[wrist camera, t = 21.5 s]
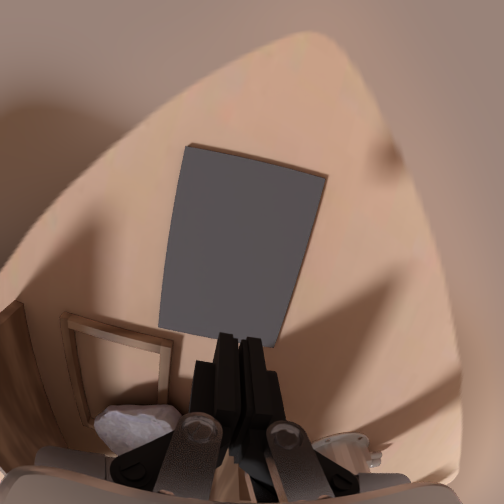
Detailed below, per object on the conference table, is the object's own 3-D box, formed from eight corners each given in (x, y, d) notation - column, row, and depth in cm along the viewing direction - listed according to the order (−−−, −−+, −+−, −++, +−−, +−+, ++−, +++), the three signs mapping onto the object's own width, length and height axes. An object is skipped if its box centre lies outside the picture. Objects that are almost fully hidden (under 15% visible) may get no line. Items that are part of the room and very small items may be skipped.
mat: (324, 178, 22) (325, 178, 22) (273, 345, 27) (273, 347, 26) (186, 146, 21) (185, 146, 20) (159, 324, 25) (158, 327, 25)
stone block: (96, 401, 29) (141, 452, 31) (81, 421, 25) (131, 475, 26) (166, 377, 29) (212, 436, 30) (154, 402, 24) (207, 463, 25)
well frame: (252, 354, 27) (266, 496, 13) (205, 492, 38) (204, 558, 24) (13, 292, 24) (-68, 369, 9) (66, 456, 35) (45, 514, 20)
